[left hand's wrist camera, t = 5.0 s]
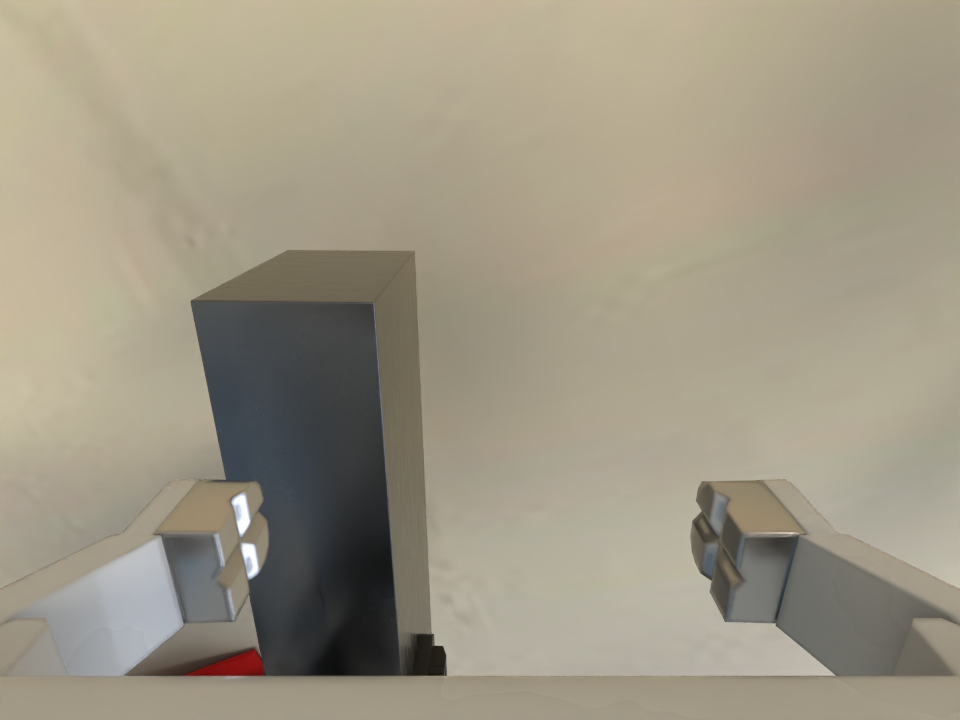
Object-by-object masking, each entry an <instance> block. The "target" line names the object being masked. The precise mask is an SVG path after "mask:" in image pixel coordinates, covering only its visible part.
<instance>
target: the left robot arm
mask: <svg viewBox="0 0 960 720" xmlns="http://www.w3.org/2000/svg"><path fill="white" fill-rule="evenodd" d="M263 501H264V498H263V493H262V489H261V485H260V484H259V483H258V482H257V481H247V480H200V479H185V480H174V481H170V482H169V483H168V484H167V485H166V486H165V487H164V488H163V489H162V490H161V491H160V492H159V494H158V495H157V496H156V497H155V498H154V499H153V500H152V501H151V502H150V503H149V504H148V505H147V507H146V508H145V509H144V510H143V511H142V512H141V513H140V514H139V515H138V516H137V517H136V519H135V520H134V521H133V522H132V523H131V524H130V525H129V526H128V527H127V528H126V529H125V531H124V532H123V533H122V534H121V535H110V536H108V537H106V538H104V539H102V540H100V541H98V542H96V543H94V544H92V545H90V546H88V547H86V548H84V549H82V550H80V551H77V552H75V553H73V554H71V555H69V556H67V557H65V558H63V559H61V560H59V561H57V562H55V563H53V564H51V565H49V566H47V567H44V568H42V569H40V570H38V571H36V572H34V573H32V574H30V575H28V576H26V577H24V578H22V579H20V580H18V581H16V582H14V583H12V584H9V585H7V586H5V587H3V588H1V589H0V720H960V589H958V588H956V587H954V586H952V585H950V584H948V583H946V582H944V581H942V580H940V579H938V578H936V577H934V576H932V575H930V574H928V573H926V572H924V571H921V570H919V569H917V568H915V567H913V566H911V565H909V564H907V563H905V562H903V561H901V560H899V559H897V558H895V557H893V556H891V555H889V554H887V553H884V552H882V551H880V550H878V549H876V548H874V547H872V546H870V545H868V544H866V543H864V542H862V541H860V540H858V539H856V538H854V537H852V536H850V535H839V534H838V533H837V532H836V531H835V529H834V528H833V527H832V526H831V525H830V524H829V523H828V522H827V521H826V520H825V519H824V517H823V516H822V515H821V514H820V513H819V512H818V511H817V510H816V509H815V508H814V507H813V505H812V504H811V503H810V502H809V501H808V500H807V499H806V498H805V497H804V496H803V495H802V493H801V492H800V491H799V490H798V489H797V488H796V487H795V486H794V485H793V484H792V483H791V482H790V481H787V480H785V479H772V480H754V481H702V482H701V484H700V486H699V488H698V492H697V498H696V501H697V503H698V505H699V507H700V508H701V510H702V512H701V513H700V514H699V515H698V516H697V517H696V518H695V519H694V520H693V521H692V528H691V548H692V554H693V557H694V560H695V563H696V565H697V567H698V569H699V571H700V573H701V574H703V575H704V576H705V577H707V578H708V579H710V580H711V581H712V582H711V588H710V593H711V595H712V597H713V599H714V601H715V603H716V605H717V607H718V609H719V611H720V612H721V614H722V616H723V618H724V620H725V622H752V623H776V626H777V627H778V628H779V629H781V630H782V631H783V632H784V633H785V634H787V635H788V636H789V637H790V638H791V639H793V640H794V641H795V642H796V643H798V644H799V645H800V646H801V647H802V648H804V649H805V650H806V651H807V652H808V653H810V654H811V655H812V656H813V657H814V658H816V659H817V660H818V661H819V662H821V663H822V664H823V665H824V666H825V667H827V668H828V669H829V670H830V671H831V672H833V673H834V674H835V675H836V676H124V675H125V674H126V673H128V672H129V671H130V670H131V669H132V668H134V667H135V666H136V665H137V664H138V663H140V662H141V661H142V660H143V659H144V658H146V657H147V656H148V655H149V654H151V653H152V652H153V651H154V650H155V649H157V648H158V647H159V646H160V645H161V644H163V643H164V642H165V641H166V640H168V639H169V638H170V637H171V636H172V635H174V634H175V633H176V632H177V631H178V630H180V629H181V628H182V627H183V626H184V623H207V622H235V620H236V618H237V616H238V614H239V613H240V611H241V609H242V607H243V605H244V603H245V601H246V599H247V597H248V595H249V593H250V588H249V583H248V581H249V580H250V579H252V578H253V577H255V576H256V575H257V574H259V573H260V571H261V569H262V567H263V565H264V563H265V561H266V557H267V552H268V548H269V527H268V521H267V520H266V519H265V518H264V517H263V516H262V515H261V514H260V513H259V512H258V510H259V508H260V507H261V505H262V503H263Z"/></svg>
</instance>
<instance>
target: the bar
mask: <svg viewBox="0 0 960 720" xmlns="http://www.w3.org/2000/svg"><path fill="white" fill-rule="evenodd" d="M191 306H192V311H193V316H194V321H195V326H196V331H197V336H198V341H199V346H200V351H201V356H202V361H203V366H204V371H205V376H206V381H207V386H208V391H209V396H210V401H211V406H212V411H213V416H214V421H215V426H216V431H217V436H218V441H219V446H220V451H221V456H222V461H223V466H224V471H225V476H226V480H247V481H257V482H258V483H259V484H260V485H261V489H262V493H263V498H264V501H263V503H262V505H261V507H260V508H259V510H258V512H259V513H260V514H261V515H262V516H263V517H264V518H265V519H266V520H267V521H268V527H269V548H268V552H267V557H266V561H265V563H264V565H263V567H262V569H261V571H260V573H259V574H257V575H256V576H255V577H253V578H252V579H250V580H249V581H248V583H249V588H250V593H249V597H250V602H251V607H252V612H253V617H254V622H255V627H256V632H257V637H258V642H259V647H260V652H261V657H262V662H263V667H264V672H265V676H412V675H413V669H414V664H415V658H416V652H417V646H418V640H419V635H420V633H421V634H431V614H430V591H429V569H428V546H427V523H426V500H425V477H424V455H423V432H422V409H421V386H420V364H419V341H418V318H417V295H416V272H415V252H414V251H325V250H287V251H285V252H283V253H281V254H279V255H278V256H276V257H274V258H272V259H270V260H268V261H266V262H264V263H262V264H260V265H258V266H256V267H255V268H253V269H251V270H249V271H247V272H245V273H243V274H241V275H239V276H237V277H235V278H233V279H231V280H230V281H228V282H226V283H224V284H222V285H220V286H218V287H216V288H214V289H212V290H210V291H208V292H206V293H205V294H203V295H201V296H199V297H197V298H195V299H193V300H191Z"/></svg>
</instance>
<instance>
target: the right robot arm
mask: <svg viewBox="0 0 960 720" xmlns="http://www.w3.org/2000/svg"><path fill="white" fill-rule="evenodd" d="M263 676H265V672H264V673H263ZM412 676H447V669H446V654H445V651H444V648H443V646H434V634H421V633H420V635H419V640H418V646H417V652H416V658H415V664H414V669H413V675H412Z"/></svg>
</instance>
